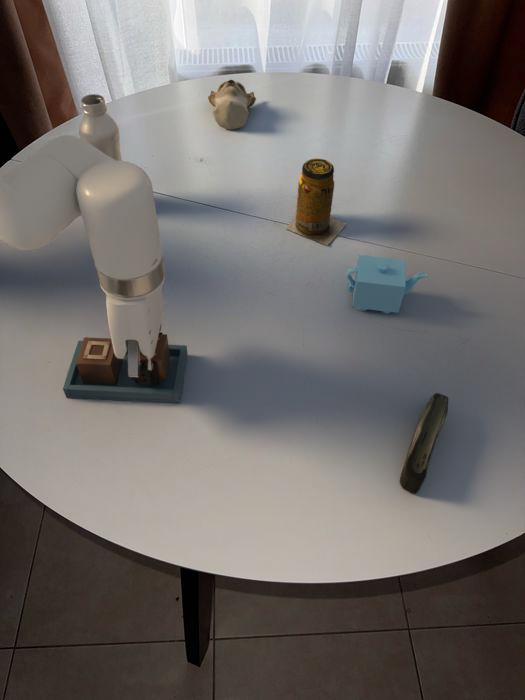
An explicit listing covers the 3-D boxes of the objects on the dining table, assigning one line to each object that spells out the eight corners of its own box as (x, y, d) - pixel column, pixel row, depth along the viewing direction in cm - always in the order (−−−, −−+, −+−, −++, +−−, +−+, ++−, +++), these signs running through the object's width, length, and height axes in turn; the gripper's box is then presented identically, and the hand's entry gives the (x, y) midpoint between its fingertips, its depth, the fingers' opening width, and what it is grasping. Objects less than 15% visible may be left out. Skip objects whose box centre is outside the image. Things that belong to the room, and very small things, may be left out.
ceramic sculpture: (203, 93, 116) (207, 64, 126) (205, 134, 123) (209, 103, 133) (256, 95, 116) (256, 65, 127) (255, 136, 123) (255, 105, 133)
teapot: (418, 292, 94) (429, 257, 88) (419, 319, 90) (430, 284, 84) (343, 283, 95) (350, 248, 89) (341, 310, 91) (348, 274, 85)
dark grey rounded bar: (428, 481, 67) (456, 384, 76) (403, 471, 68) (433, 376, 76) (418, 499, 71) (446, 404, 79) (395, 489, 72) (425, 397, 80)
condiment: (305, 208, 107) (311, 150, 98) (346, 224, 104) (355, 166, 95) (285, 229, 103) (288, 170, 94) (326, 246, 101) (334, 187, 91)
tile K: (131, 380, 79) (126, 358, 75) (137, 353, 82) (132, 331, 78) (165, 381, 79) (161, 359, 75) (170, 355, 82) (166, 333, 78)
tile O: (83, 384, 80) (75, 362, 76) (91, 358, 83) (83, 336, 79) (116, 385, 80) (110, 364, 76) (123, 359, 83) (117, 337, 79)
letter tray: (66, 397, 79) (62, 388, 78) (81, 349, 85) (78, 340, 83) (179, 403, 79) (178, 394, 77) (187, 354, 85) (186, 345, 83)
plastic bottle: (118, 220, 104) (96, 114, 89) (89, 208, 106) (62, 102, 91) (140, 201, 108) (122, 96, 92) (112, 190, 110) (89, 85, 94)
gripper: (113, 220, 72) (134, 320, 86) (80, 321, 61) (110, 417, 75) (173, 223, 72) (185, 323, 86) (151, 325, 61) (168, 419, 75)
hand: (150, 366), depth 80 cm, fingers closed on tile K, 4 cm apart
